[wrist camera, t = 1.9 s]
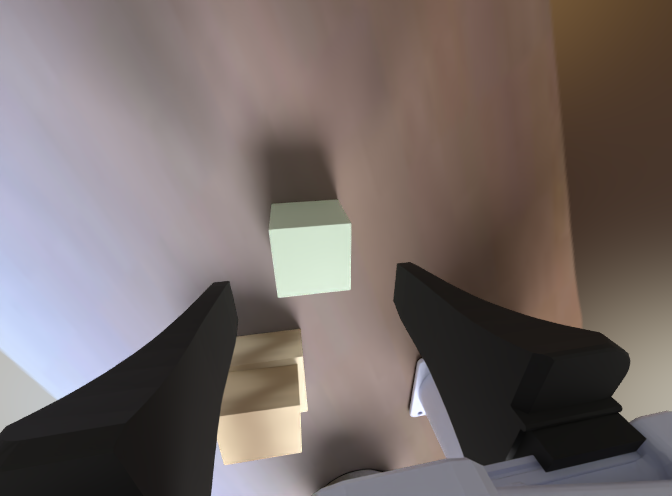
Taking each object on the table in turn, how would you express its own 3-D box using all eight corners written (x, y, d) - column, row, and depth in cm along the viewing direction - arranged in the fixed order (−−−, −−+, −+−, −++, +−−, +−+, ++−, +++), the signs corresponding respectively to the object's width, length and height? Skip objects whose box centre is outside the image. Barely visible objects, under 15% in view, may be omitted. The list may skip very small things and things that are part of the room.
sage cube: (337, 199, 17) (351, 223, 14) (338, 255, 19) (350, 289, 16) (271, 203, 17) (268, 229, 13) (278, 261, 19) (277, 297, 15)
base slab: (300, 325, 22) (302, 356, 19) (305, 378, 24) (307, 411, 22) (219, 335, 21) (210, 369, 18) (233, 388, 24) (227, 424, 21)
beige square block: (297, 364, 19) (300, 405, 17) (299, 409, 22) (301, 452, 19) (221, 373, 19) (211, 417, 16) (231, 419, 21) (224, 465, 18)
